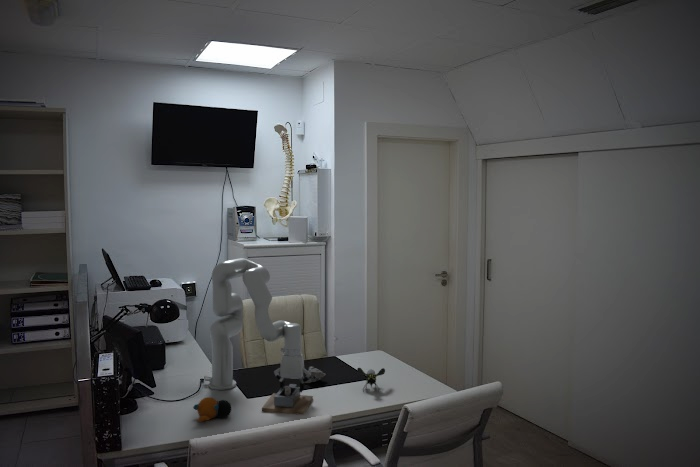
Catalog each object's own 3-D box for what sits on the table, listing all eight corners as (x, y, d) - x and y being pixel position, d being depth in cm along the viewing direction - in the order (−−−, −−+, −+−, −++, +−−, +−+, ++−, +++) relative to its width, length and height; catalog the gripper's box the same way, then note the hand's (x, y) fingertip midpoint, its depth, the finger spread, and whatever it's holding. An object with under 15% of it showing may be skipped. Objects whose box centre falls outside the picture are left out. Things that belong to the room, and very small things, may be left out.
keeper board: (261, 411, 237) (261, 392, 236) (273, 396, 254) (273, 378, 253) (303, 414, 234) (304, 395, 234) (312, 399, 251) (312, 381, 250)
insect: (356, 396, 256) (356, 374, 255) (356, 383, 272) (357, 362, 271) (385, 396, 255) (386, 375, 255) (384, 384, 272) (385, 363, 271)
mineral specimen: (309, 389, 277) (315, 390, 267) (297, 379, 276) (302, 380, 266) (321, 373, 280) (328, 374, 271) (309, 363, 279) (315, 363, 270)
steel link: (292, 407, 237) (292, 398, 236) (274, 405, 238) (274, 396, 237) (301, 393, 252) (302, 384, 252) (284, 392, 254) (284, 383, 253)
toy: (194, 397, 234) (231, 399, 238) (191, 422, 231) (228, 424, 235) (195, 395, 224) (234, 397, 227) (192, 421, 220) (231, 423, 224)
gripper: (270, 353, 247) (270, 392, 249) (310, 355, 245) (309, 395, 246) (275, 348, 255) (275, 386, 256) (313, 350, 252) (313, 388, 254)
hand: (292, 390), depth 251 cm, fingers closed on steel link, 7 cm apart
